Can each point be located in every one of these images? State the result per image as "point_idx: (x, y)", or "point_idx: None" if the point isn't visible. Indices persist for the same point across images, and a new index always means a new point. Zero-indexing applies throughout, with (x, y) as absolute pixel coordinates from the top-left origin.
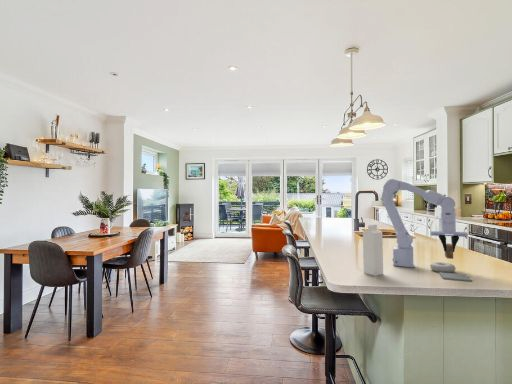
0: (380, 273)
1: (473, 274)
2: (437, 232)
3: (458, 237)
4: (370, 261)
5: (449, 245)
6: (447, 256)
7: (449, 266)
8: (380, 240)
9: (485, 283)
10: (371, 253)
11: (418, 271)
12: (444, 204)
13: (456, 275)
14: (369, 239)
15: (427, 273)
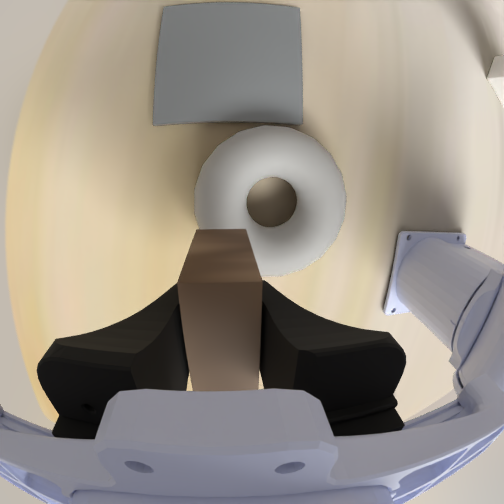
0: (492, 70)
1: (111, 178)
2: (472, 433)
3: (41, 365)
4: None
5: (223, 288)
6: (244, 233)
7: (240, 143)
8: None
9: (115, 12)
10: None
11: (395, 144)
12: None
13: (216, 65)
14: None
15: (360, 107)
